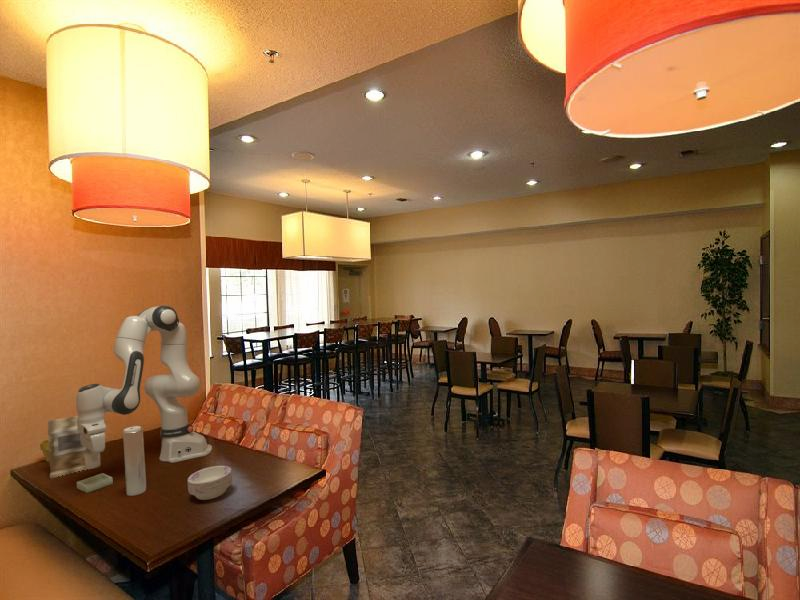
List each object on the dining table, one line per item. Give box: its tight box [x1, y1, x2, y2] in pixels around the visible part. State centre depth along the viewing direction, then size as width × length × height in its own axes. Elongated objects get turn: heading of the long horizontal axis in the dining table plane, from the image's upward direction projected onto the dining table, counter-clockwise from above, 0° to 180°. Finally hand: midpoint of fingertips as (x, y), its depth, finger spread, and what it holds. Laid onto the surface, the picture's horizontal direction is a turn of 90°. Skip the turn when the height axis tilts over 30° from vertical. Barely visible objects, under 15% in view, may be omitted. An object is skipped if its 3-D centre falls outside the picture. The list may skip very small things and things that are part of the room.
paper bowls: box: [187, 465, 233, 501], centre depth 156 cm, size 15×15×8 cm
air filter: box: [122, 425, 147, 497], centre depth 161 cm, size 6×6×25 cm
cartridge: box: [84, 449, 102, 470], centre depth 168 cm, size 5×5×7 cm
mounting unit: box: [47, 415, 87, 479], centre depth 187 cm, size 16×10×23 cm, turn 127°
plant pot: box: [39, 439, 50, 462], centre depth 201 cm, size 10×10×10 cm
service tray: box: [76, 472, 114, 494], centre depth 169 cm, size 9×9×2 cm
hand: (92, 459), depth 168 cm, fingers closed on cartridge, 5 cm apart
